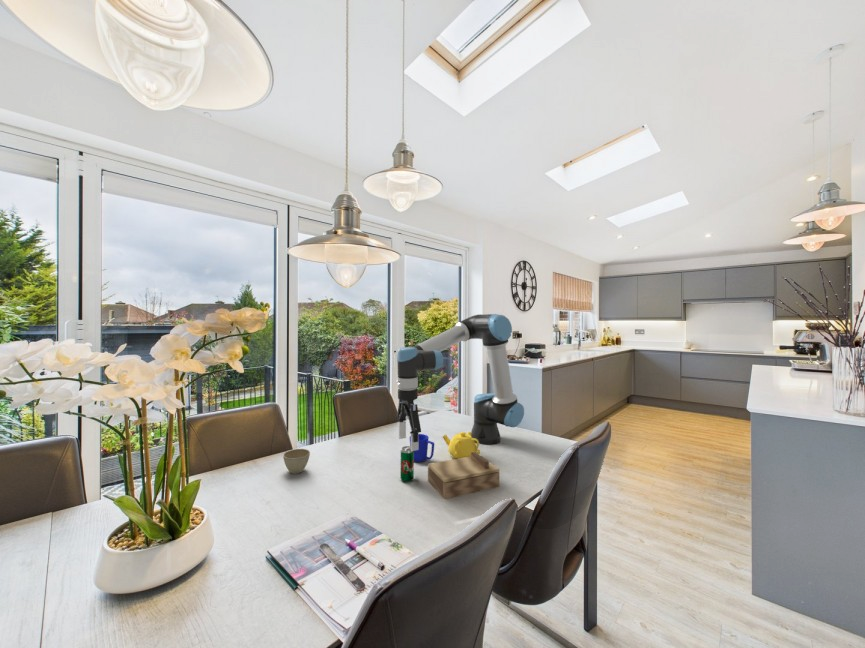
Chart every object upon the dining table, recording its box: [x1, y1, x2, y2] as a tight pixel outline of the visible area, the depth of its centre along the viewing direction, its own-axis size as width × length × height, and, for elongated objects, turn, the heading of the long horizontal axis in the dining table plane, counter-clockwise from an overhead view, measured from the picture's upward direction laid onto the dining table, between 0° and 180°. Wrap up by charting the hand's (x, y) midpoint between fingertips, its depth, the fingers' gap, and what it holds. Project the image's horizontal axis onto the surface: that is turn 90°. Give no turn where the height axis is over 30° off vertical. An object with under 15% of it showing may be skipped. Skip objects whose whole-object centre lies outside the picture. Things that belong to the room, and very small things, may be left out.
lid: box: [427, 452, 500, 483], centre depth 129 cm, size 22×14×3 cm, turn 114°
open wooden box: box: [427, 466, 500, 500], centre depth 129 cm, size 22×14×6 cm, turn 114°
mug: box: [409, 433, 435, 463], centre depth 152 cm, size 8×12×10 cm
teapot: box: [442, 431, 481, 460], centre depth 157 cm, size 14×14×11 cm
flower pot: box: [282, 448, 311, 475], centre depth 141 cm, size 10×10×7 cm
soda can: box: [399, 445, 415, 483], centre depth 134 cm, size 5×5×12 cm
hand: (408, 444), depth 134 cm, fingers open, 13 cm apart
